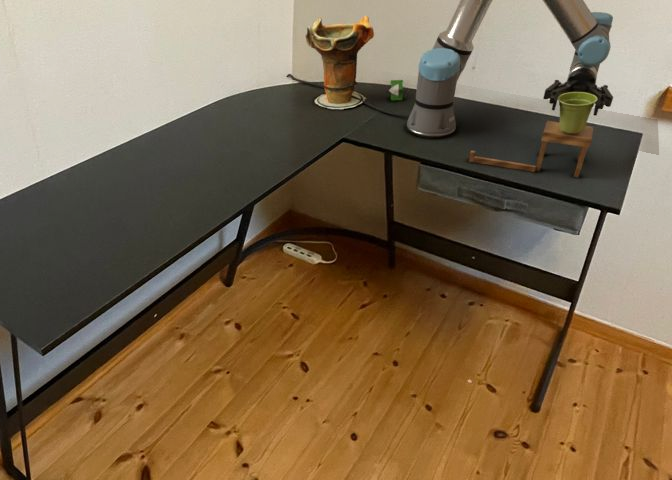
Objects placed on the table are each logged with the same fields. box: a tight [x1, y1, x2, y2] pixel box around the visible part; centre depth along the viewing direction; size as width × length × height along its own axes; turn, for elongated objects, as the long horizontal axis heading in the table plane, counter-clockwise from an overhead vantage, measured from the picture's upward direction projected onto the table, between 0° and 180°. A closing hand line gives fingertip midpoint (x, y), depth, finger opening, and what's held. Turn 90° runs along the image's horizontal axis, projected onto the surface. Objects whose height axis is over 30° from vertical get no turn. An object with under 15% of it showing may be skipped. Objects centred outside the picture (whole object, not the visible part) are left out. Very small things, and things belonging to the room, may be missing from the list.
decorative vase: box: [305, 15, 375, 110], centre depth 207 cm, size 21×23×28 cm
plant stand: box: [468, 120, 594, 178], centre depth 169 cm, size 30×13×11 cm, turn 64°
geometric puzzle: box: [386, 79, 408, 101], centre depth 213 cm, size 7×7×8 cm
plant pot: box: [557, 92, 597, 134], centre depth 160 cm, size 9×9×9 cm
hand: (575, 107), depth 156 cm, fingers closed on plant pot, 9 cm apart
